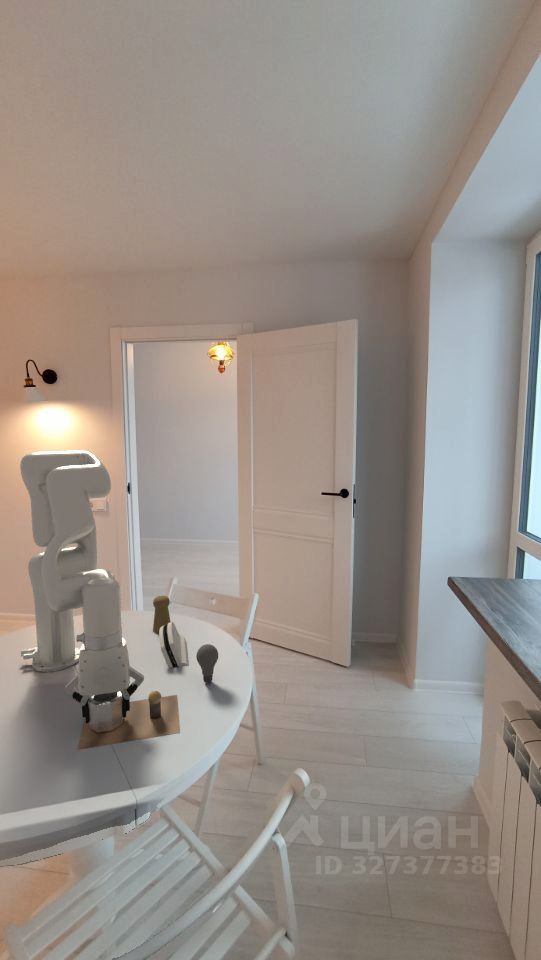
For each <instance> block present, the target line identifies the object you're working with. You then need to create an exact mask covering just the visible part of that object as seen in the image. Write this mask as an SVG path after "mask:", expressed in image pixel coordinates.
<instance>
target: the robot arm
mask: <svg viewBox="0 0 541 960" xmlns="http://www.w3.org/2000/svg"><path fill="white" fill-rule="evenodd" d="M19 468H20V476H21V479H22V481H23V483H24V486H25V488H26V490H27V492H28V494H29V497H30V509H31V511H30V512H31V531H32V537H33V541H34V544H35V545H36V546H38V547H39V548H46V549H45V551H42V552H40V553H37V554H35V555H33V556H32V557H31V558H30V560H29V562H28V565H27V569H28V577H29V580H30V585H31V587H32V592H33V603H34V615H35V633H36V646H34V647H33V648H22V649H21V651H20V656H21V657H22V658H23V660H30V659H32V661H31V665H32V667H31V668H33V670H36V671H38V672H44V673H46V672H47V673H48V672H49V673H51V672H57V671H61V670H65V669H67V668H70V667H71V666H73V665H75V664H77V663H78V669H77V670H78V673H77V674H76V675H75V676H74V677H73V678H72V679H71V680H70V681H69V682H68V683H67V684H66V685H65V688H64V691H65V693H67V694H68V695H69V696H71V697H72V699H74V700H75V701H77V702H78V703H79V705H80V706H81V710H82V712H81V713H82V715H81V716H82V718H84V721H85V720H86V723H89V707H88V700H89V696H94V695H102V694H109V693H116V692H121V694H122V695H123V699H122V714H123V717H124V718H125V717H126V714H127V711H130V702H131V700H130V699H131V696H133V694H134V693H135V692H136V691H137V690H138V688H139V687H140V685H141V684H142V683H143V682H144V680H145V675H144V674H142V673H141V672H140V671H138V670H137V669H134V668H133V667H132V666H130V658H129V650H128V647H127V641H126V640H125V638H124V637H123V631H122V630H123V628H122V608H121V607H122V606H121V586H120V583H119V582H118V580H117V579H116V578H115V575H114V574H113V573H112V572H111V570H109V569H107V568H98V550H97V549H98V548H97V547H98V546H97V545H98V544H97V526H96V521H95V517H94V515H93V509H92V506H91V502H90V499H91V500H92V499H101V498H106V497H107V496H108V495H109V494H110V492H111V489H112V480H111V476H110V474H109V472H108V469H107V468H106V466H105V465H104V464H103V463H102V462H101V460H100V459H98V458H97V456H96V455H94V453H92V452H90V451H88V450H65V451H64V450H61V451H60V450H57V451H55V450H53V451H38V452H37V451H36V452H31V453H28V454H25V455H24V456H23V457H22V458H21V461H20V465H19ZM74 544H77V546H72V547H67V546H68V545H74ZM81 608H82V621H83V623H82V625H83V632H82V633H80V634H77V635H76V637H75V623H74V622H75V621H74V610H77V609H81ZM75 639H76V640H75ZM80 642H81V643H82V644H81V647H80V648H78V647H76V643H80ZM131 678H132V679H133V680H134V681H133V682H132V683H131V680H130V679H131ZM130 683H131V684H130ZM76 686H77V687H78V689H77V688H76Z"/></svg>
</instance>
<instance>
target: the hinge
mask: <svg viewBox="0 0 541 960" xmlns="http://www.w3.org/2000/svg"><path fill="white" fill-rule="evenodd" d="M158 636H159V647H160V651H161V653H162V656H163V659H164V660H165V663H166V665H167V668H168V669H175V668H182V667H189V665H190V664H189V653H188V645H187V640H186V638H185V637H183V636H180V634H179V631H178V629H177V627H176V625H175V623H174V621H171V622H170V623H168V625H163V626H162V627H161V628H160V630H159V634H158Z"/></svg>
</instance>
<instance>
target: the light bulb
mask: <svg viewBox="0 0 541 960" xmlns="http://www.w3.org/2000/svg"><path fill="white" fill-rule="evenodd" d="M196 660H197V663H198V665H199V667H200V669H201V673H202V678H203V679H202V680H203V682H204V683H206V684H209V683H211V682H212V681H213V677H214V675H213V674H214V669H215V665H216V664H217V662H218V660H219V652H218V649H217V647H215V645H212V644H209V643H208V644H203V645H201V646H200V647H199V648H198V650H197V652H196Z"/></svg>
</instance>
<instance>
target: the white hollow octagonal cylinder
mask: <svg viewBox="0 0 541 960" xmlns="http://www.w3.org/2000/svg"><path fill="white" fill-rule="evenodd" d="M122 699H123V695H122V694H121V692H116V693H109V694H102V695H94V696H89V700H88V707H89V728H90V729H92V730H94V731H96V732H98V733H99V732H105V731H112V730H114V729H115V728H117V727H118V726H119V725H121V724H122V723H123V720H124V717H123V714H122Z"/></svg>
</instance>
